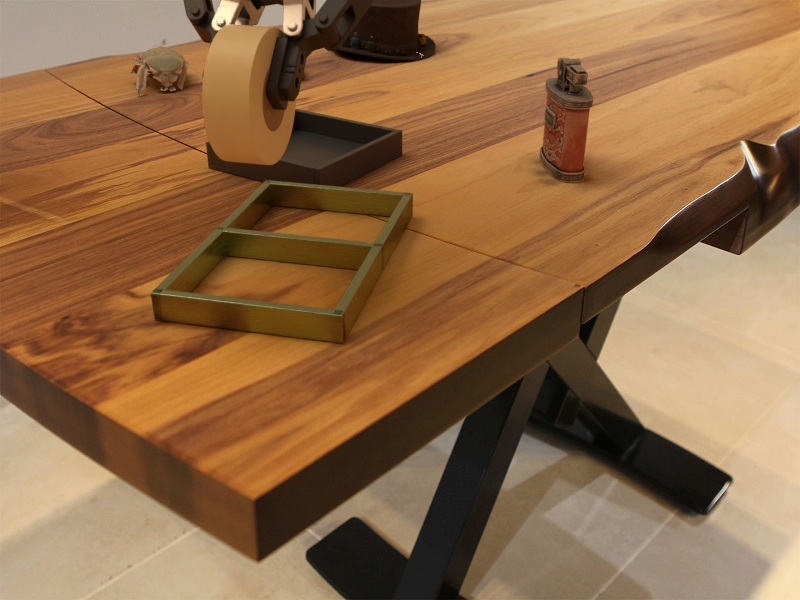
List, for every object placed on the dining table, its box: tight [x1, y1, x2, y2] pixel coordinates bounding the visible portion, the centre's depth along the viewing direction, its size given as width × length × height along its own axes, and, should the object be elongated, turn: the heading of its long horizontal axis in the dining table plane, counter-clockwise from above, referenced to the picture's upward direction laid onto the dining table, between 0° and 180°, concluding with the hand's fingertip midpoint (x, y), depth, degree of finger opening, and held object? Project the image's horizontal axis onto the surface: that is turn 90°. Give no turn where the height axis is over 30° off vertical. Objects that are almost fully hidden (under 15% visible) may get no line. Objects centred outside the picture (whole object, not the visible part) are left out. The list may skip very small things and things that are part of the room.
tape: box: [201, 24, 297, 165], centre depth 51 cm, size 3×8×8 cm, turn 167°
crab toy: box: [129, 45, 191, 97], centre depth 106 cm, size 9×11×5 cm
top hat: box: [337, 0, 436, 61], centre depth 121 cm, size 15×15×10 cm
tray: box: [205, 108, 403, 187], centre depth 82 cm, size 13×13×2 cm
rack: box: [150, 180, 414, 344], centre depth 63 cm, size 13×21×2 cm, turn 167°
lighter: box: [539, 57, 594, 183], centre depth 79 cm, size 8×3×10 cm, turn 6°
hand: (247, 99), depth 50 cm, fingers closed on tape, 3 cm apart
